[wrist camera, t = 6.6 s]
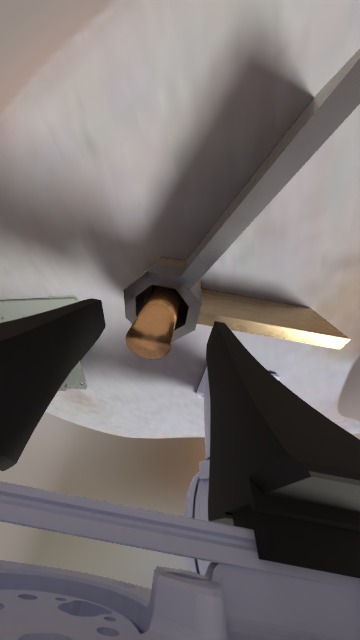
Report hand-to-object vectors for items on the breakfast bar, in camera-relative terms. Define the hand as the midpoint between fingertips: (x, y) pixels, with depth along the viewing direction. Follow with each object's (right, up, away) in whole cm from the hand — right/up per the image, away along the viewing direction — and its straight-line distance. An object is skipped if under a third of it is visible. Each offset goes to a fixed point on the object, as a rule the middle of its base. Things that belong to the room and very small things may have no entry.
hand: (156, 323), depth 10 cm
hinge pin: (+1, +3, +5) cm, 6 cm away
